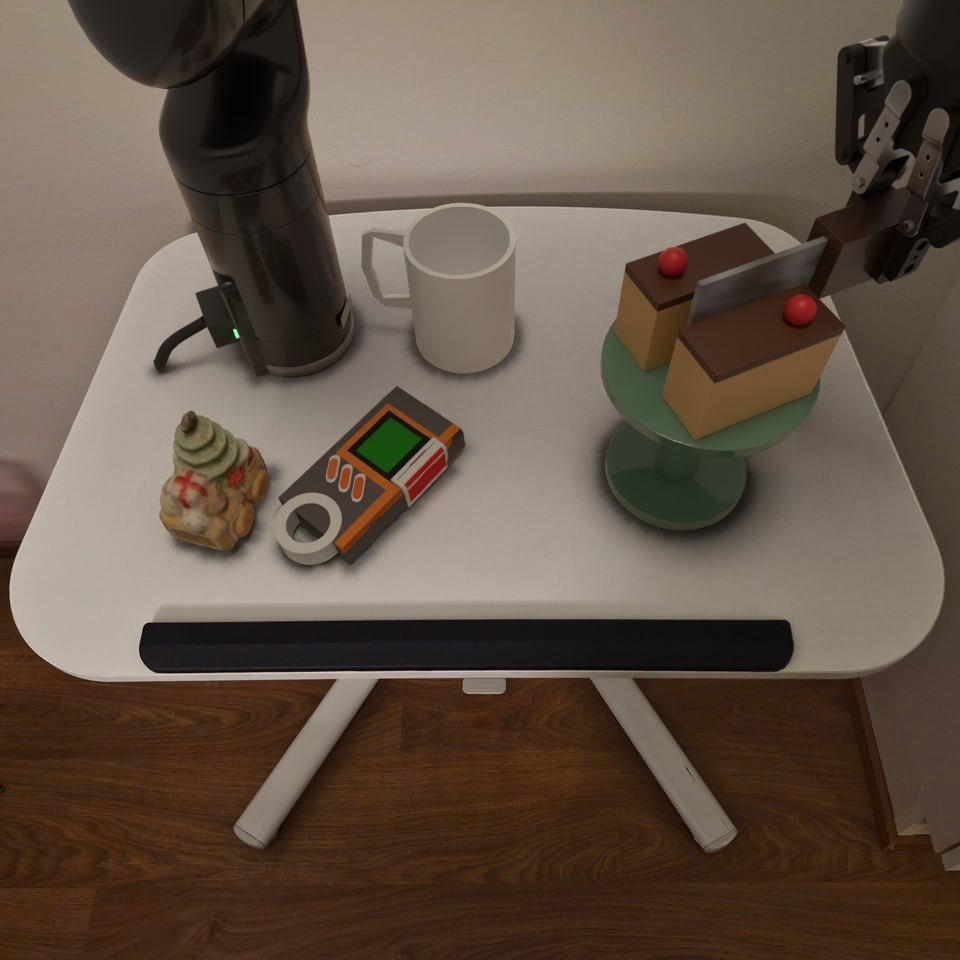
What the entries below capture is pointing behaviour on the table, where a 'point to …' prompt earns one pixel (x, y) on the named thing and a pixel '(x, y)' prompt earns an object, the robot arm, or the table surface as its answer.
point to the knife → (809, 259)
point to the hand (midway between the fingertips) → (869, 259)
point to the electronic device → (367, 479)
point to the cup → (455, 284)
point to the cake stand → (680, 447)
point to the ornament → (211, 485)
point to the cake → (722, 334)
